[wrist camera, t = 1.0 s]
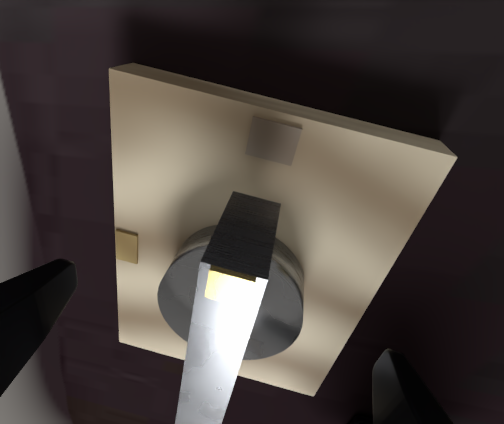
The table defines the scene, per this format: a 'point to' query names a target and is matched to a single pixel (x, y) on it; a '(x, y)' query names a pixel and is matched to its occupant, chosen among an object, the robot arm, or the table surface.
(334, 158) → the base plate
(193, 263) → the silver dome with handle
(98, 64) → the table surface
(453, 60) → the table surface
